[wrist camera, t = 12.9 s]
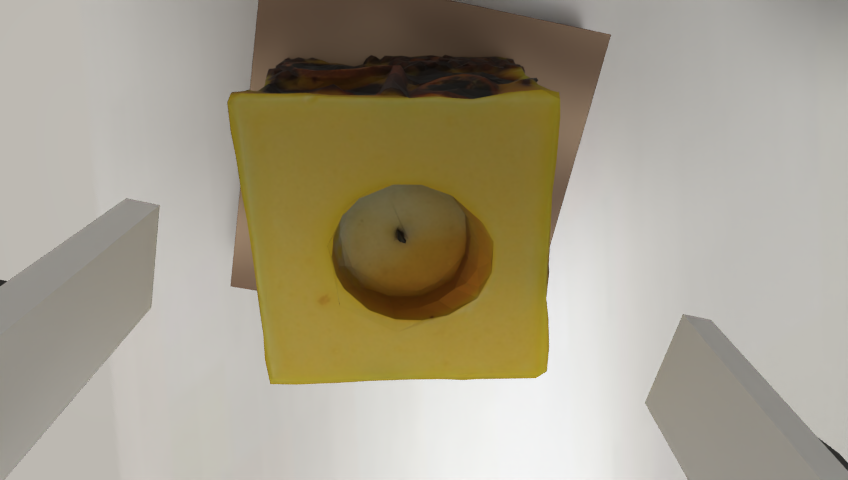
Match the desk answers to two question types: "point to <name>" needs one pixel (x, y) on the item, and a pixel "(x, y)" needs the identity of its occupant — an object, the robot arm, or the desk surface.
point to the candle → (399, 217)
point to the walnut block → (421, 36)
